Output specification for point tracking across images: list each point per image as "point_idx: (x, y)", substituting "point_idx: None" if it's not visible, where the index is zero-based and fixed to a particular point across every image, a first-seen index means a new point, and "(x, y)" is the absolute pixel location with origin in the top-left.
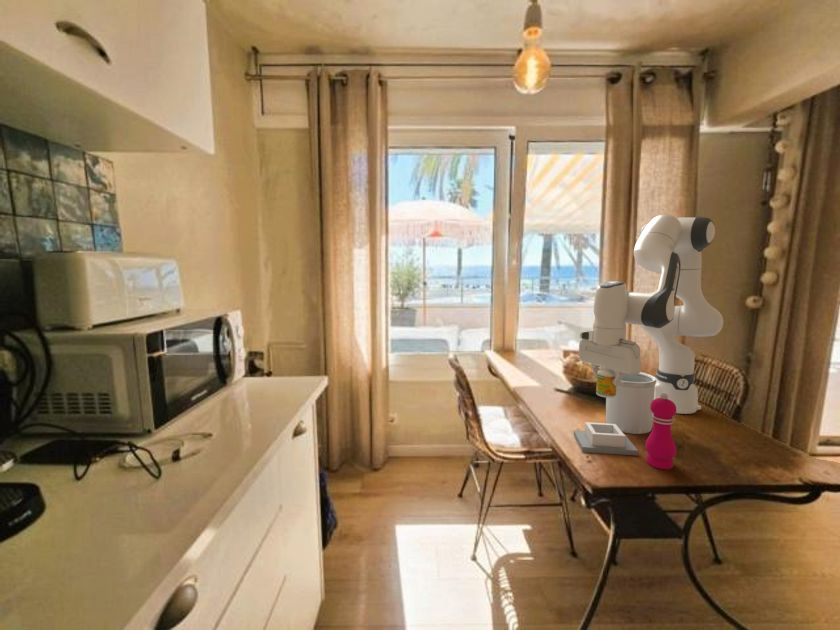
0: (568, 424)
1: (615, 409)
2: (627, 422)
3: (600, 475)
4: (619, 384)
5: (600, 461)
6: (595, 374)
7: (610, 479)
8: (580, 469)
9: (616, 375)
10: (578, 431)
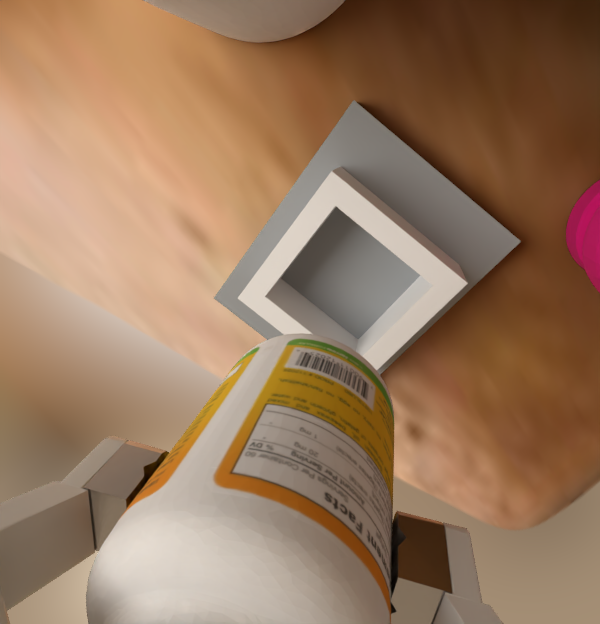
0: (127, 215)
1: (217, 17)
2: (318, 1)
3: (499, 483)
4: (466, 548)
5: (440, 403)
6: (98, 540)
7: (537, 482)
8: (432, 494)
9: (385, 617)
10: (232, 291)
